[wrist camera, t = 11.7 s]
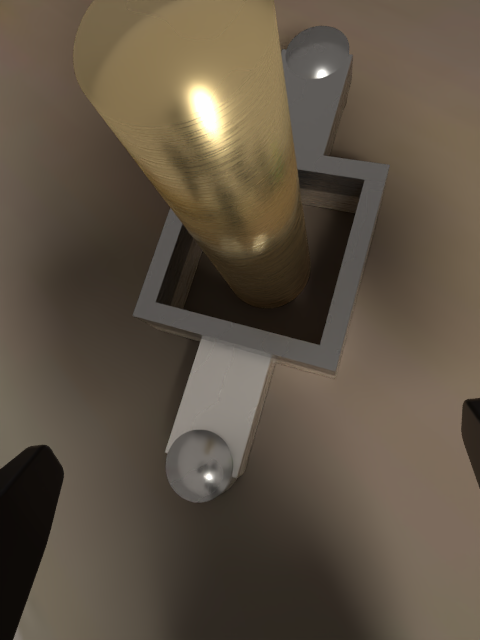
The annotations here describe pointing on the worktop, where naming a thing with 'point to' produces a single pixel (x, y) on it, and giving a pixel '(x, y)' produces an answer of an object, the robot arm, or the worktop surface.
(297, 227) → the brass pin
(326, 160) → the ball-tipped frame bar
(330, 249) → the worktop surface
